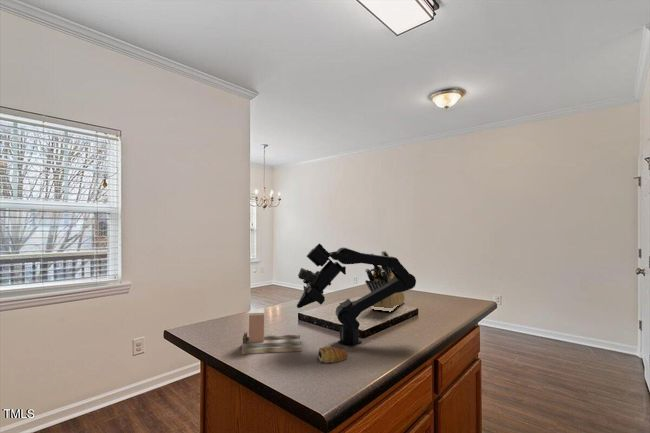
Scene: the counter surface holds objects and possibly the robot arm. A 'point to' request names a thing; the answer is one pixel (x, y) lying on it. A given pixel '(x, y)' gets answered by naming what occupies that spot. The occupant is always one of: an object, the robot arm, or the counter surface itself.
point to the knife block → (380, 279)
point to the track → (272, 344)
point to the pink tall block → (256, 325)
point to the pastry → (331, 354)
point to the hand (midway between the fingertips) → (297, 307)
